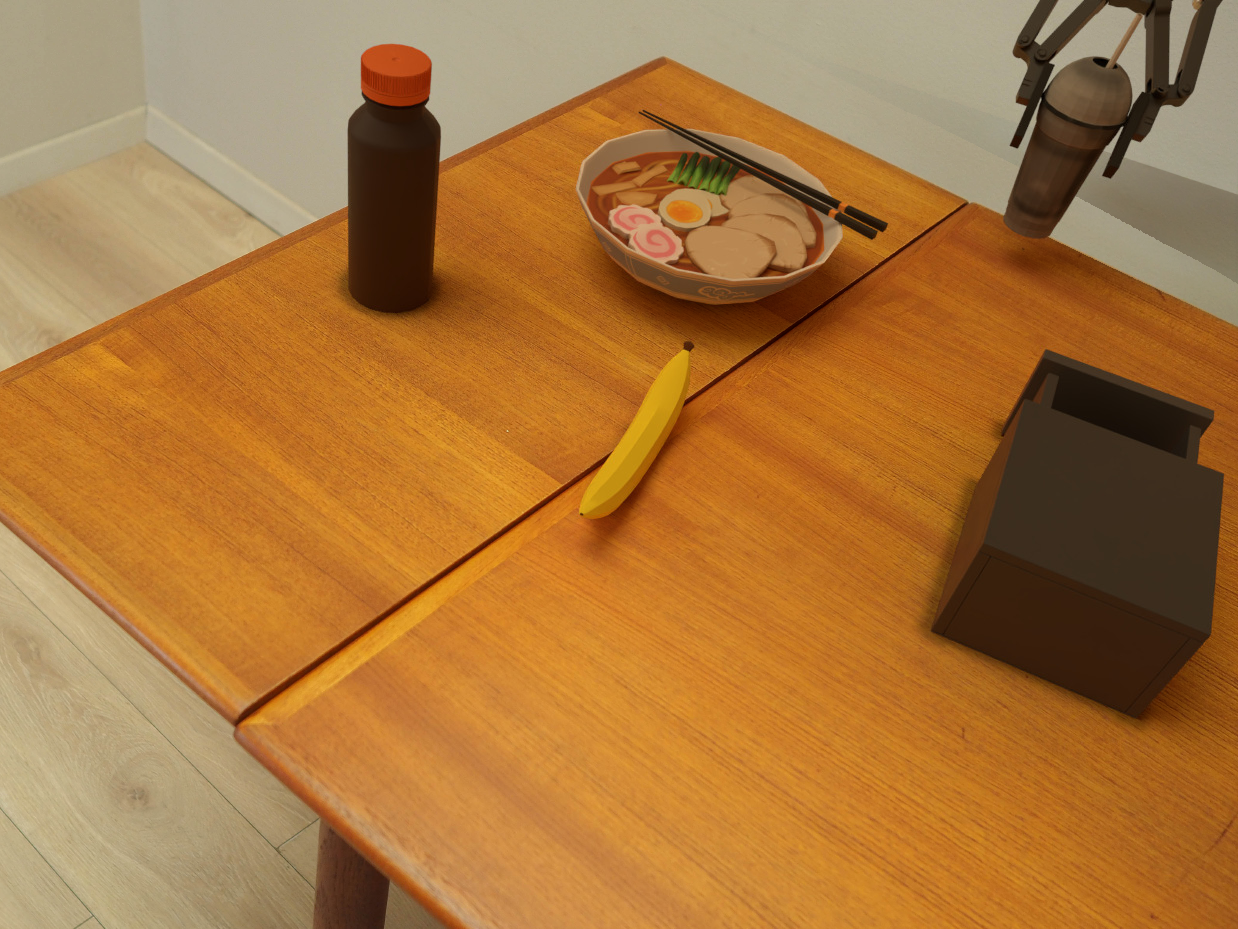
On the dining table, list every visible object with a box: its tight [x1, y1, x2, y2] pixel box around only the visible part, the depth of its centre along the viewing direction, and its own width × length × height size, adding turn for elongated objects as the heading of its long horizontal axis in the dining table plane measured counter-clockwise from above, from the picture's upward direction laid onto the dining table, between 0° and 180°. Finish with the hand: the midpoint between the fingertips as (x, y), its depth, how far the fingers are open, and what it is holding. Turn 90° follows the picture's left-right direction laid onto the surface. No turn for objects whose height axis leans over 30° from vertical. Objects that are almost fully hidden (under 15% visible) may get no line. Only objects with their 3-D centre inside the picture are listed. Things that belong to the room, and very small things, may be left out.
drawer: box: [1000, 348, 1215, 464], centre depth 85 cm, size 19×12×8 cm, turn 155°
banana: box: [578, 340, 695, 520], centre depth 82 cm, size 3×19×6 cm, turn 154°
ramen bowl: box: [575, 109, 889, 306], centre depth 100 cm, size 25×23×8 cm
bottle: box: [347, 43, 442, 314], centre depth 88 cm, size 7×7×20 cm
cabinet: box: [930, 399, 1225, 720], centre depth 78 cm, size 16×14×10 cm
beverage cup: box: [1002, 13, 1144, 240], centre depth 99 cm, size 7×7×20 cm
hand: (1063, 156), depth 98 cm, fingers closed on beverage cup, 7 cm apart
